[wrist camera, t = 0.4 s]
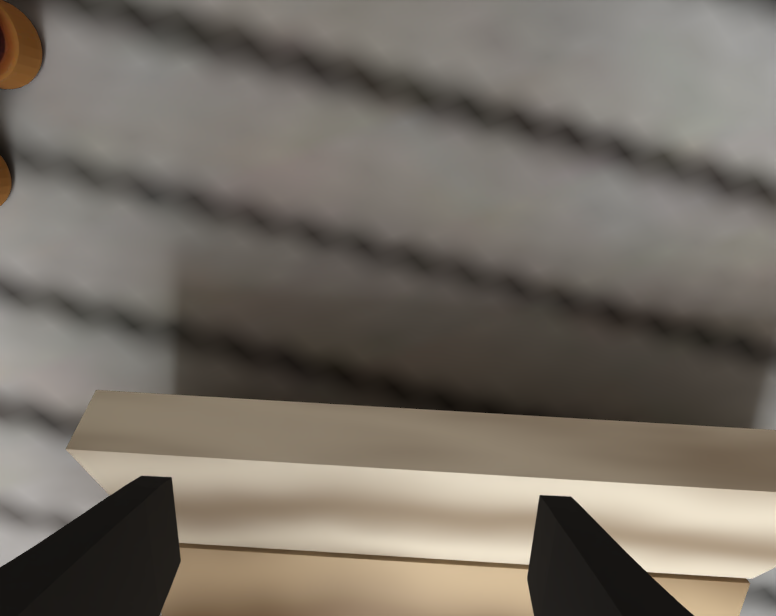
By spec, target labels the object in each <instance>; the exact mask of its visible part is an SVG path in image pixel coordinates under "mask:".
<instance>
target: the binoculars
mask: <svg viewBox="0 0 776 616" xmlns="http://www.w3.org/2000/svg"><path fill="white" fill-rule="evenodd" d="M41 63H42V47H41V41H40V39H39V36H38V34H37V31H36V29H35V28H34V26H33V25H32V23H31V21H30V20H29V19H28V18H27V17H26V16H25V15H24V14H23V13H22V12H21V11H20V10H18V9H17V8H16V7H15V6H13V5H11V4H9V3H7V2H5V1H3V0H0V88H1V89H15V88H20V87H22V86H24V85H26V84H28V83H29V82H31V81H32V80H33V79H34V78H35V76H36V75H37V73H38V71H39V70H40V66H41ZM10 190H11V176H10V172H9V169H8V167H7V165H6V163H5V161H4V159H3V158H2V157H1V155H0V206H1V205H2V204H3V203H4V202H5V201H6V200H7V198H8V196H9V194H10Z"/></svg>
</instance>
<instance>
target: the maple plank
mask: <svg viewBox="0 0 776 616" xmlns="http://www.w3.org/2000/svg"><path fill="white" fill-rule="evenodd" d="M66 450H67V451H68V452H69V453H70V454H71V455H72V456H73V457H74V459H75V460H76V461H77V462H78V463H79V464H80V465H81V466H82V467H83V468H84V469H85V470H86V471H87V472H88V473H89V474H90V475H91V476H92V477H93V478H94V479H95V481H96V482H97V483H98V484H99V485H100V486H101V487H102V488H103V489H104V490H105V491H106V492H107V493H108V494H109V495H112V494H113V493H115V492H116V491H118V490H119V489H121V488H122V487H124V486H125V485H127V484H128V483H130V482H132V481H133V480H135V479H137V478H138V477H140V476H159V477H172V484H173V493H174V502H175V511H176V520H177V529H178V539H179V543H190V544H206V545H222V546H238V547H254V548H270V549H286V550H302V551H318V552H334V553H350V554H366V555H382V556H398V557H414V558H430V559H446V560H462V561H478V562H494V563H510V564H526V565H529V562H530V555H531V548H532V542H533V535H534V528H535V522H536V515H537V509H538V502H539V495H551V496H571V497H572V498H573V499H574V500H575V501H576V502H577V503H578V504H579V505H580V506H581V507H582V508H583V509H584V510H585V511H586V512H587V513H588V514H589V515H590V516H591V517H592V518H593V519H594V520H595V521H596V522H597V523H598V524H599V525H600V526H601V527H602V528H603V529H604V530H605V531H606V532H607V533H608V534H609V535H610V536H611V537H612V538H613V539H614V540H615V541H616V542H617V543H618V544H619V545H620V546H621V547H622V548H623V549H624V550H625V551H626V552H627V553H628V554H629V555H630V556H631V557H632V558H633V559H634V560H635V561H636V562H637V563H638V564H639V565H640V566H641V567H642V568H643V569H644V570H645V571H646V572H654V573H670V574H686V575H702V576H718V577H734V578H750V579H752V578H754V577H756V576H758V575H761V574H763V573H765V572H767V571H769V570H771V569H773V568H775V567H776V430H765V429H748V428H731V427H714V426H697V425H680V424H663V423H646V422H629V421H612V420H595V419H578V418H561V417H544V416H527V415H510V414H493V413H476V412H459V411H442V410H425V409H409V408H392V407H375V406H358V405H341V404H324V403H307V402H290V401H273V400H256V399H239V398H222V397H205V396H188V395H171V394H154V393H137V392H120V391H103V390H96V391H95V393H94V395H93V397H92V399H91V401H90V403H89V405H88V407H87V409H86V411H85V413H84V415H83V417H82V418H81V420H80V422H79V424H78V426H77V428H76V430H75V432H74V434H73V436H72V438H71V440H70V442H69V444H68V446H67V448H66Z"/></svg>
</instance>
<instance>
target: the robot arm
mask: <svg viewBox="0 0 776 616" xmlns="http://www.w3.org/2000/svg"><path fill="white" fill-rule="evenodd" d="M180 562H181V557H180V548H179V539H178V529H177V520H176V511H175V502H174V493H173V484H172V477H159V476H140V477H138V478H137V479H135V480H133V481H132V482H130V483H128V484H127V485H125V486H124V487H122V488H121V489H119V490H118V491H116V492H115V493H113V494H112V495H110V496H109V497H107V498H106V499H104V500H103V501H101V502H100V503H98V504H97V505H95V506H94V507H92V508H91V509H89V510H88V511H86V512H85V513H84V514H82V515H81V516H79V517H78V518H76V519H75V520H73V521H72V522H70V523H69V524H67V525H66V526H64V527H63V528H61V529H60V530H58V531H57V532H55V533H54V534H52V535H51V536H49V537H48V538H46V539H45V540H43V541H42V542H40V543H39V544H37V545H35V546H34V547H32V548H31V549H29V550H28V551H26V552H24V553H23V554H21V555H20V556H18V557H16V558H15V559H13V560H12V561H10V562H8V563H7V564H5V565H3V566H2V567H0V616H159V615H160V613H161V610H162V608H163V606H164V603H165V601H166V598H167V596H168V593H169V591H170V588H171V586H172V583H173V581H174V578H175V575H176V573H177V570H178V567H179V565H180ZM527 582H528V587H529V592H530V598H531V603H532V608H533V613H534V616H694V615H693V614H692V613H691V612H689V611H688V610H687V609H686V608H685V607H684V606H683V605H682V604H680V603H679V602H678V601H677V600H676V599H675V598H674V597H673V596H672V595H671V594H670V593H668V592H667V591H666V590H665V589H664V588H663V587H662V586H661V585H660V584H659V583H658V582H657V581H656V580H655V579H654V578H652V577H651V576H650V575H649V574H648V573H647V572H646V571H645V570H644V569H643V568H642V567H641V566H640V565H639V564H638V563H637V562H636V561H635V560H634V559H633V558H632V557H631V556H630V555H629V554H628V553H627V552H626V551H625V550H624V549H623V548H622V547H621V546H620V545H619V544H618V543H617V542H616V541H615V540H614V539H613V538H612V537H611V536H610V535H609V534H608V533H607V532H606V531H605V530H604V529H603V528H602V527H601V526H600V525H599V524H598V523H597V522H596V521H595V520H594V519H593V518H592V517H591V516H590V515H589V514H588V513H587V512H586V511H585V510H584V509H583V508H582V507H581V506H580V505H579V504H578V503H577V502H576V501H575V500H574V499H573V498H572V497H571V496H551V495H539V502H538V509H537V515H536V522H535V528H534V535H533V542H532V548H531V555H530V562H529V568H528V575H527Z"/></svg>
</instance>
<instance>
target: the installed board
mask: <svg viewBox="0 0 776 616" xmlns="http://www.w3.org/2000/svg"><path fill="white" fill-rule="evenodd" d="M179 548H180V557H181V562H180V565H179V567H178V570H177V573H176V575H175V578H174V581H173V583H172V586H171V588H170V591H169V593H168V596H167V598H166V601H165V603H164V606H163V608H162V610H161V612H162V616H534V613H533V608H532V603H531V598H530V592H529V587H528V582H527V575H528V568H529V565H526V564H510V563H494V562H478V561H462V560H446V559H430V558H414V557H398V556H382V555H366V554H350V553H334V552H318V551H302V550H286V549H270V548H254V547H238V546H222V545H206V544H190V543H179ZM647 573H648V574H649V575H650V576H651V577H652V578H654V579H655V580H656V581H657V582H658V583H659V584H660V585H661V586H662V587H663V588H664V589H665V590H666V591H667V592H668V593H670V594H671V595H672V596H673V597H674V598H675V599H676V600H677V601H678V602H679V603H680V604H682V605H683V606H684V607H685V608H686V609H687V610H688V611H689V612H691V613H692V614H693V615H694V616H739V614H740V611H741V608H742V605H743V602H744V600H745V597H746V594H747V591H748V588H749V585H750V583H749V582H748V580H747V579H746V578H734V577H718V576H702V575H686V574H670V573H654V572H647Z"/></svg>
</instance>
